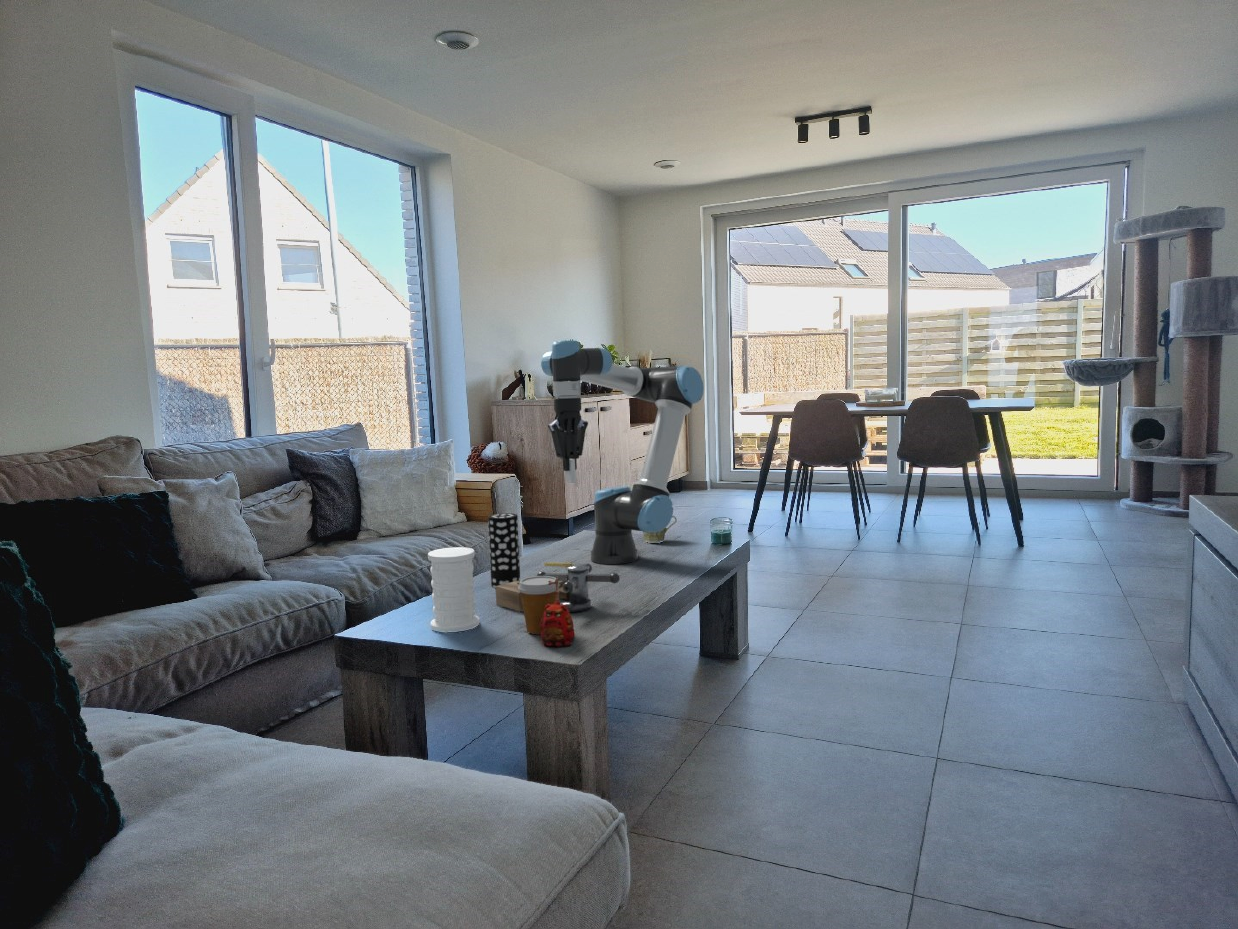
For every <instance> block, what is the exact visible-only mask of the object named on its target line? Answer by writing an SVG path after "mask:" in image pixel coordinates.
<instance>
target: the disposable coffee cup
mask: <svg viewBox="0 0 1238 929" xmlns="http://www.w3.org/2000/svg"><path fill="white" fill-rule="evenodd" d="M555 579H556V578H555V577H551V576H537V575H535V576H528V577H525V578H522V579H520V584H519V586H518V589H519V591H520V593H521V598H522V605H523V610H524V611H523V614H524V615H523V616H524V621H525V626H526V633H528V632H529V633H533V634H541V629H540V625H541V624H540V623H541V619H542V616H543V613H544V611H545V606H546V605H547V604H550V605H553V604H555V602H556V597H557V594H556V584H551V585H549V582H548V581H551V582H555ZM558 587H559V583H558ZM529 633H528V634H529Z"/></svg>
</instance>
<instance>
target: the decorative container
mask: <svg viewBox="0 0 1238 929" xmlns="http://www.w3.org/2000/svg"><path fill="white" fill-rule="evenodd" d="M475 554H476V553H475V549H473V548H470V547H466V546H465V547H464V546H463V547H461V546H459V547H458V546H457V547H456V546H455V547H445V548H437V549H434V550H431V551H429V552H428V553H427V560H428V561H429V562H430V563H431V566H430V574H431V582H430V585H431V588H432V593H431V594H432V595H431V599H432V601H433V606H432V613H433V615H434V618H433V619H432V620H431V621H430V629H431V628H432V629H434V630H438V631H445V632H448V631H452V632H453V631H460V630H466V629H469V628H472V627H474V626H478V624H479V623H480V617H479V616H478V615H476V614H475V611H476V608H477V605H476V603H475V598H476V597H475V596H476V591H475V589H474V585H475V578H474V573H473V572H474V568H475V567H474V563H473V559H474V557H475ZM479 625H480V624H479ZM478 627H479V626H478Z"/></svg>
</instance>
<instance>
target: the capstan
mask: <svg viewBox="0 0 1238 929" xmlns="http://www.w3.org/2000/svg"><path fill="white" fill-rule="evenodd" d="M544 567H564V568H565V570H566V571H567V573H566V572H565V573H564V572H563V573H562V572H545V571H539V572H538V573H537V574H536V576H551V577H555V578H557V574H558V579H559V580H558V579H557V580H558V581H567V582H565V583H564V584H563V590H564V591H565V592H567V593H569V598H568V599H565V598H562V599H559V602H560V604H561V605H566V606H567V609H568V611H569V613H576V612H577V613H578V612H583V611H584V612H585V611H587V610H589V609H590V608H592V600H591V599H590V597H589V583H590V582H591V583H593V582H594V583H595V582H597V583H611V584H613V585H614V584H617V583H619V582H620V580H621V576H620V575H619V574H618V573H617V572H612V573H611V574H609V573H591V572H592V571H593V567H592V565H591V564H590V563H581V562H580V563H573V562H553V561H552V562H551V561H550V562H548V561H547V562H545V563H544Z"/></svg>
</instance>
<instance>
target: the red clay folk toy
mask: <svg viewBox="0 0 1238 929" xmlns="http://www.w3.org/2000/svg"><path fill="white" fill-rule="evenodd" d="M557 579H558V574H557V578H556V579H555V582H551V581H548V582H549V585H551V584H556V594H557V597H556V602H555V604H553V605H550V604H547V605H546V606H545V611H544V613H543V616H542V619H541V623H540V624H541V625H540V629H541V635H540V639H541V642H542V645H543V644H544V645H543V646H547V647H557V648H563V647H562V646H566V647H570V646H571V644H572V643H573V642H574V639H575V629H574V627H575V626H574V625H575V624H574V620H573V617H572V615H571V612H569V611H568V609H567V606H566V605H561V604H560V602H559V597H558V595H559V591H558V580H559V579H558V580H557Z"/></svg>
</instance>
